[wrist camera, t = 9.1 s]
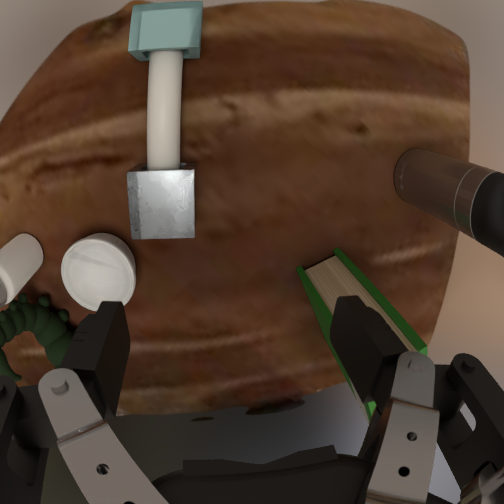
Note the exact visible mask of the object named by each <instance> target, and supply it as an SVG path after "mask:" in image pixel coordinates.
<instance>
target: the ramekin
mask: <svg viewBox="0 0 504 504" xmlns="http://www.w3.org/2000/svg"><path fill="white" fill-rule="evenodd" d="M135 268H136V266H135V260H134V257H133V254H132V252H131V250H130V249H129V247H128V246H127V245H126V244H125V243H124V242H123V241H122V240H121V239H119V238H118V237H116V236H114V235H111V234H107V233H97V234H93V235H89V236H88V237H86V238H83V239H81V240H79V241H77V242H75V243H74V244H73V245H72V246H71V247H70V248H69V249H68V250H67V252H66V253H65V255H64V257H63V261H62V266H61V274H62V279H63V282H64V285H65V287H66V289H67V291H68V292H69V294H70V295H71V296H72V298H73V299H74V300H75V301H77V302H78V303H79V304H80V305H82V306H83V307H85V308H87V309H90V310H93V311H97V310H98V308H99V305H100V303H101V302H102V301H122V303H123V305H125V304H126V303H127V302H128V301H129V300H130V298H131V297H132V295H133V292H134V289H135V285H136V273H135V271H136V270H135Z"/></svg>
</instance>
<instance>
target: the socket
mask: <svg viewBox="0 0 504 504" xmlns="http://www.w3.org/2000/svg"><path fill="white" fill-rule="evenodd" d="M202 19H203V1H184V2H164V3H151V4H142V5H133V10H132V18H131V26H130V35H129V46H128V52H130V53H131V54H132V55H133V56H134V57H135V58H136V59H137V60H139V61H149V60H150V51H158V50H176V49H184V52H183V59H192V58H200V46H201V32H202Z"/></svg>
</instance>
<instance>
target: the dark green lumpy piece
mask: <svg viewBox="0 0 504 504" xmlns="http://www.w3.org/2000/svg"><path fill="white" fill-rule="evenodd" d="M18 301H19V302H18ZM18 301H17V300H12V301H11V302H10V304H9V308H7V309H6V310H5V311H4V310H2V311H1V312H0V375H6V376H9V377H11V378H12V379H13V380H14V381H20V380H21V379H22V377H21V376H20V375H18V374H16V373H14V371H13V370H12V369H11V367H10V366H9V364H8V361H7V358H6V355H5V353H4V351H3V350H2V349H1V347H3V346H4V344H5V343H6V342H10V341H11V340H12V339H13V338H14V336H15V335H19V334H21V333H22V332H23V331H30V332H32V333H34V335H35V337H36V339H37V341H38V342H39V343H40V344H41V345H42V346H43V347H45V352H46V355H47V358H48V359H49V361H50V362H51V363H52V364H53V365H55V369H59V367H60V364H61V362H62V360H63V358H64V355H65V353H66V351H67V349H68V347H69V344H70V342H71V341H72V338H73V336H74V334H75V333H76V330H74V331H73V332H70V331H68V330H67V327H66V324H65V322H66V321H67V320H68V317H69V316H68V313H67V312H66V311H64V310H61V311H60V312H59V313H58V315H57V314H55V313H53V312H50V311H49V310H48V309H47V307H48V306H49V303H50V301H49V299H48V298H47V297H46V296H41V297H40V298H39V300H38V304H31V303H28V302H27V301H28V297H27V295H26V294H25V293H21V294H19V295H18Z"/></svg>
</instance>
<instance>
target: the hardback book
mask: <svg viewBox="0 0 504 504" xmlns="http://www.w3.org/2000/svg"><path fill="white" fill-rule="evenodd" d="M333 252H334V255H335V256H333V257H331V258H329V259H327V260H325V261H323V262H321V263H319V264H317V265H315V266H313V267H311V268H309V269H307V270H305V271H304V269H303V268H302V266H299V267H297V268H296V270H297V272H298V275H299V277H300V279H301V282H302V284H303V286H304V289H305V291H306V294H307V296H308V298H309V301H310V303H311V305H312V308H313V310H314V313H315V315H316V317H317V320H318V322H319V325H320V327H321V330H322V332H323V335H324V337H325V339H326V342H327V344H328V346H329V348H330V349H331V351H332V353H333V355H334V357H335V359H336V361H337V363H338V365H339V367H340V369H341V371H342V372H343V374H344V376H345V378H346V380H347V382H348V384H349V386H350V388H351V390H352V392H353V394H354V396H355V398H356V400H357V402H358V403H359V406H360V408H361V410H362V412H363V414H364V415H365V417H366V419H367V421H368V423H370V420H371V417H372V414H373V411H374V409H375V407H376V403H375V402H374V401H373V402H369V403H364V404H363V403H362V401H361V399H360V397H359V396H358V394H357V392H356V390H355V388H354V386H353V384H352V382H351V380H350V378H349V376H348V374H347V372H346V370H345V368H344V367H343V365H342V363H341V361H340V359H339V357H338V355H337V353H336V351H335V349H334V348H333V346H332V344H331V341H330V326H331V322H332V318H333V313H334V309H335V304H336V300H337V298H338V297H339V296H352V295H358V296H359V297H360V298H361V300H362V301H363V302H364V303H365V305H366V306H367V307H371V308H373V309H374V310H376V311H377V312H379V313H380V314H381V315H382V317H383V318H384V319H385V320H386V323H388V324H389V325H390V327H391V329H392V330H393V331H394V332H395V333H396V334H397V336H398V337H399V338H400V339H401V341H402V342H403V343H404V345H405V346H406V347H407V348H408V350H409V351H416V352H420V353H422V354H425V355H426V356H427V345H426V344H425V343H424V341H423V340H422V339H421V338H420V337H419V336H418V334H417V333H416V332H415V331H414V330H413V329H412V327H411V326H410V325H409V324H408V323H407V322H406V321H405V319H404V318H403V317H402V316H401V315H400V314H399V313H398V311H397V310H396V309H395V308H394V307H393V306H392V305H391V304H390V302H389V301H388V300H387V299H386V298H385V297H384V296H383V295H382V294H381V292H380V291H379V290H378V289H377V288H376V287H375V286H374V285H373V284H372V283H371V282H370V281H369V279H368V278H367V277H366V276H365V275H364V274H363V273H362V272H361V271H360V270H359V269H358V268H357V267H356V266H355V265H354V263H353V262H352V261H351V260H350V259H349V258H348V257H347V256H346V255H345V254H344V253H343V252H342V251H341V250H340V249H339V248H336V249H334V250H333Z"/></svg>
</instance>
